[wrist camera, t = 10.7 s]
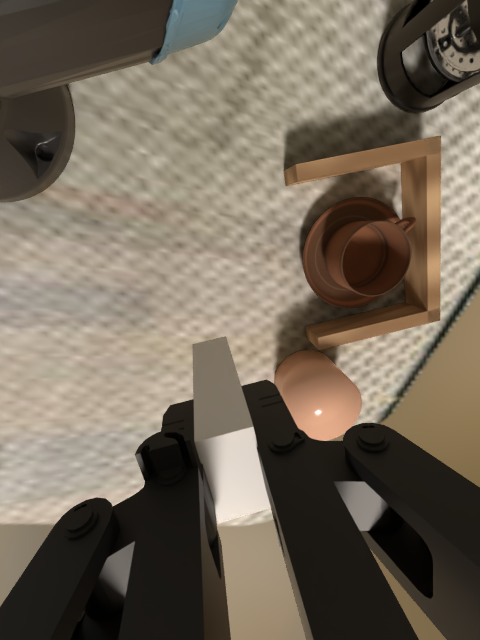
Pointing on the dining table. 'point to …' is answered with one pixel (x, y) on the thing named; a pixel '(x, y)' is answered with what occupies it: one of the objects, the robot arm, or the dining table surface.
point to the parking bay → (424, 236)
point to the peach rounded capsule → (318, 394)
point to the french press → (431, 50)
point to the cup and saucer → (357, 252)
